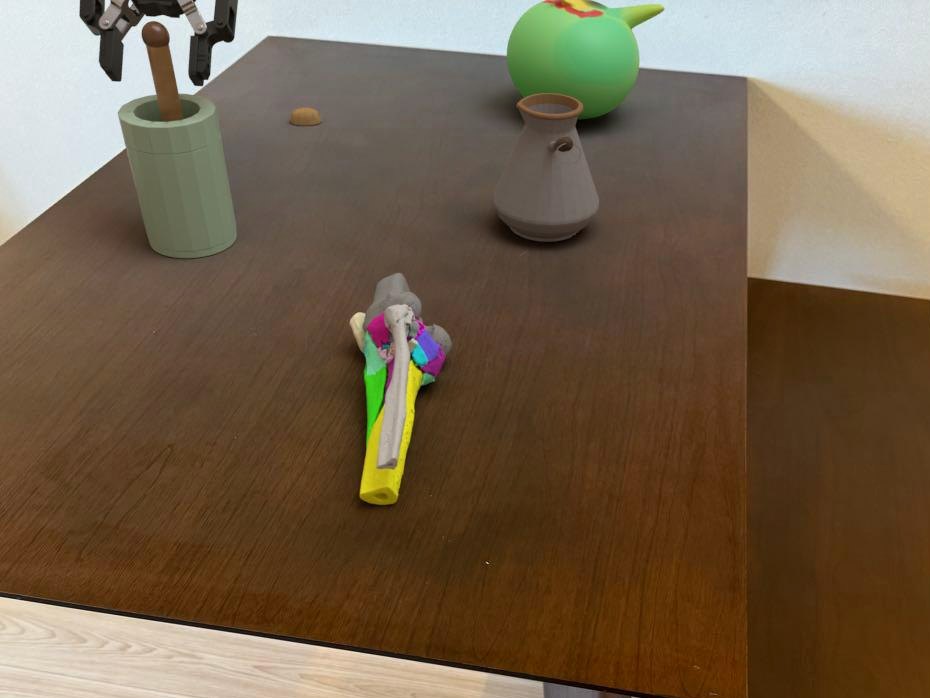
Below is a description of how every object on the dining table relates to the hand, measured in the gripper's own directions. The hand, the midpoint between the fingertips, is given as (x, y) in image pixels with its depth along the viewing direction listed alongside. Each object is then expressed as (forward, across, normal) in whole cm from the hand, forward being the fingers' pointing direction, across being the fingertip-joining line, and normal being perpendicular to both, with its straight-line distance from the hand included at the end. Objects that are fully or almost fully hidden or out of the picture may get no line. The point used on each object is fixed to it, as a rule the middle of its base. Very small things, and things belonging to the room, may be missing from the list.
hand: (154, 79), depth 88 cm
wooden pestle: (+10, 0, +12) cm, 15 cm away
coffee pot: (+9, +37, +14) cm, 41 cm away
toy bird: (-19, +40, +42) cm, 61 cm away
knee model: (+30, +24, -7) cm, 40 cm away
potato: (-13, +5, +36) cm, 39 cm away
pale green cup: (+10, 0, +12) cm, 16 cm away
